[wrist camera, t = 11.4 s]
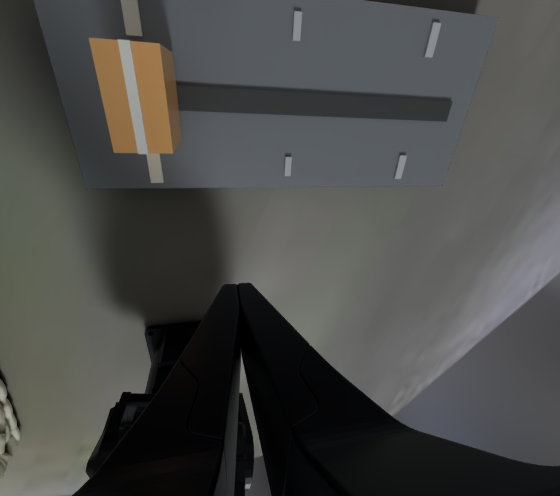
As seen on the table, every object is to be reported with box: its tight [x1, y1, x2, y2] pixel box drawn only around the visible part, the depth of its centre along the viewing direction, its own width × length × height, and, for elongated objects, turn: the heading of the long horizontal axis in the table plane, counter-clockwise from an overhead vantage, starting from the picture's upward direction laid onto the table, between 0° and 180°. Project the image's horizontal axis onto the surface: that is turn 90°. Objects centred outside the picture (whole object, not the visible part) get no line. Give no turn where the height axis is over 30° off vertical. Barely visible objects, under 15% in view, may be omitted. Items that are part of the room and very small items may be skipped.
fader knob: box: [89, 38, 182, 154], centre depth 13 cm, size 4×2×4 cm, turn 177°
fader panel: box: [33, 0, 499, 189], centre depth 18 cm, size 10×24×2 cm, turn 87°
